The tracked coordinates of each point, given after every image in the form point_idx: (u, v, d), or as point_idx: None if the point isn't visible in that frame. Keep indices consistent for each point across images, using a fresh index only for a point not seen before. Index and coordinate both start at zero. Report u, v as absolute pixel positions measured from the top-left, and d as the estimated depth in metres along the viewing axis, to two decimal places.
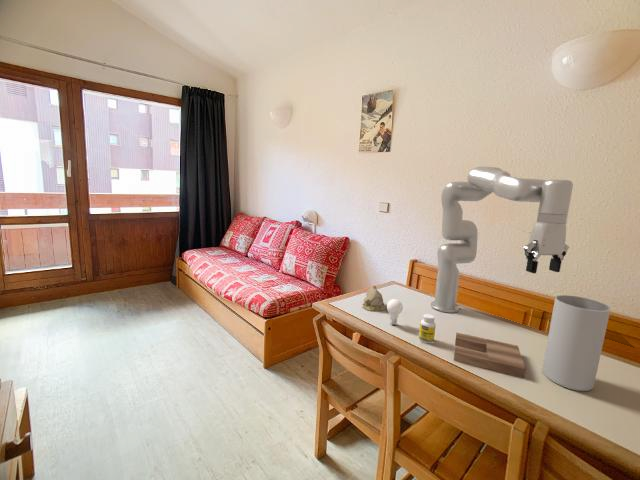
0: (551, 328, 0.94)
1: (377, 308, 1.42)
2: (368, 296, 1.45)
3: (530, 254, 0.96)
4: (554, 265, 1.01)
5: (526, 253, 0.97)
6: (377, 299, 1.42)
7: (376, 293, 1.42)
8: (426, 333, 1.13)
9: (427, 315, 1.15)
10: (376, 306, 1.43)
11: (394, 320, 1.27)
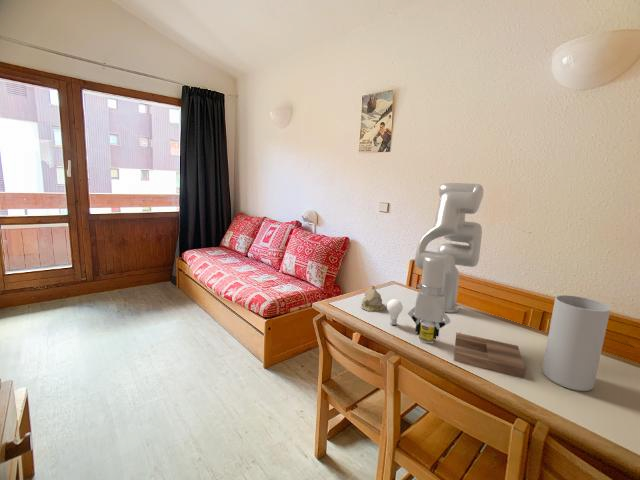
0: (551, 328, 0.94)
1: (376, 308, 1.42)
2: (367, 296, 1.44)
3: None
4: (419, 328, 1.17)
5: None
6: (376, 299, 1.42)
7: (375, 293, 1.42)
8: (426, 333, 1.13)
9: None
10: (375, 306, 1.42)
11: (394, 320, 1.27)
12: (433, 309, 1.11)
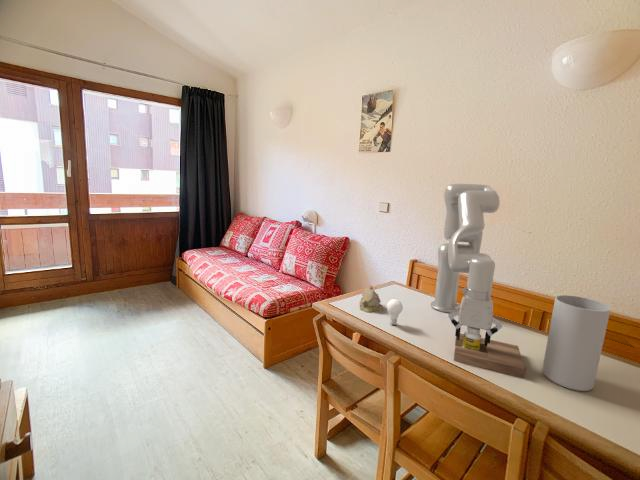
0: (551, 328, 0.94)
1: (375, 309, 1.41)
2: (365, 297, 1.43)
3: None
4: None
5: None
6: (375, 300, 1.41)
7: (373, 294, 1.41)
8: (471, 346, 1.05)
9: None
10: (374, 307, 1.42)
11: (394, 320, 1.27)
12: (480, 314, 1.02)
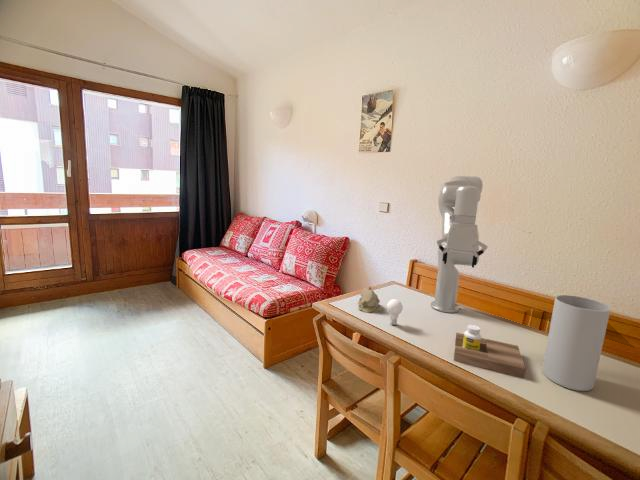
0: (551, 328, 0.94)
1: (374, 309, 1.41)
2: (364, 297, 1.43)
3: None
4: None
5: None
6: (374, 300, 1.41)
7: (373, 294, 1.41)
8: (471, 346, 1.05)
9: (472, 326, 1.07)
10: (373, 307, 1.41)
11: (394, 320, 1.27)
12: (466, 237, 1.12)
